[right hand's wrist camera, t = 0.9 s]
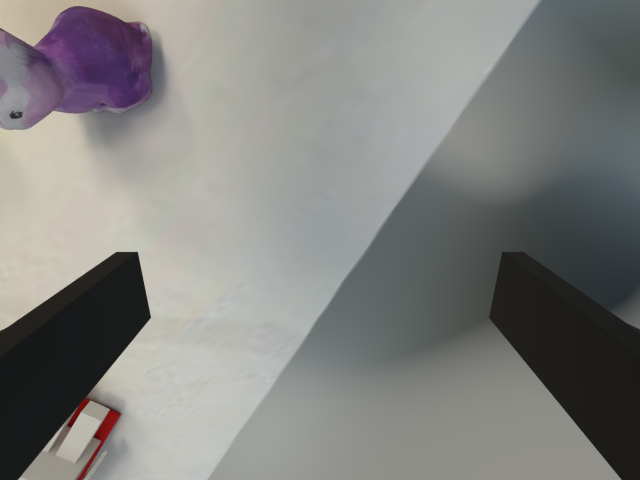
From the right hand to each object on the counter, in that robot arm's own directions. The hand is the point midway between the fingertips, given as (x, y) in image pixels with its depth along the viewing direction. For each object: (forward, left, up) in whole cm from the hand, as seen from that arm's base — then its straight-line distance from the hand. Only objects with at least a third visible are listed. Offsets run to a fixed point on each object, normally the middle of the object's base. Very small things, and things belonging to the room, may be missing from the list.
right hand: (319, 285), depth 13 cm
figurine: (-11, -20, -27) cm, 35 cm away
